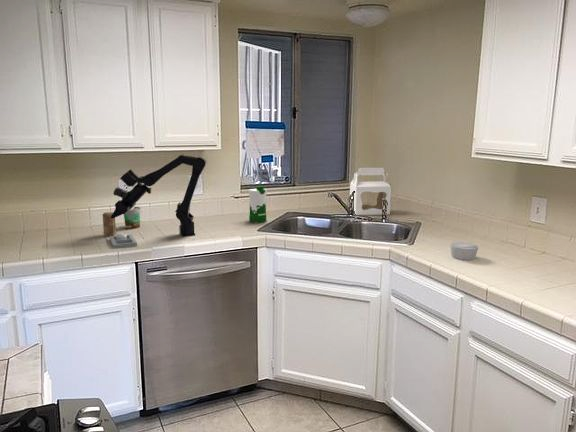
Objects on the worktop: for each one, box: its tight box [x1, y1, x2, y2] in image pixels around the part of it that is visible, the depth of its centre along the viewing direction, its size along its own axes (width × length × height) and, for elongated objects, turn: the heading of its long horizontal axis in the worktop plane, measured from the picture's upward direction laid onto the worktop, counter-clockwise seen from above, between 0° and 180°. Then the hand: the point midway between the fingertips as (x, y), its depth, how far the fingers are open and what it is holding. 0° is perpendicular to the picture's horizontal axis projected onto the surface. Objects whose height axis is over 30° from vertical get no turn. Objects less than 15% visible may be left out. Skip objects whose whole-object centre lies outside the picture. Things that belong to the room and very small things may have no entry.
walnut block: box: [102, 211, 117, 238], centre depth 237 cm, size 4×4×11 cm
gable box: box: [349, 167, 392, 216], centre depth 300 cm, size 22×13×28 cm, turn 100°
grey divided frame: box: [109, 233, 138, 249], centre depth 224 cm, size 10×18×3 cm, turn 25°
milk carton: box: [247, 185, 268, 223], centre depth 273 cm, size 9×9×20 cm
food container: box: [123, 206, 142, 230], centre depth 256 cm, size 12×6×10 cm, turn 168°
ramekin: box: [449, 241, 479, 261], centre depth 205 cm, size 11×11×5 cm
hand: (113, 216), depth 237 cm, fingers open, 9 cm apart
